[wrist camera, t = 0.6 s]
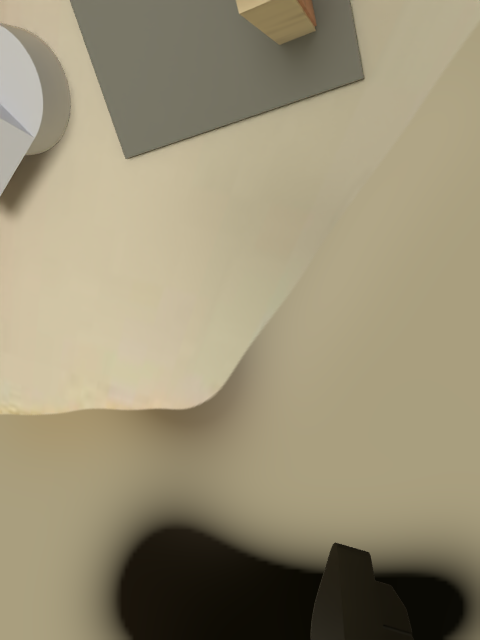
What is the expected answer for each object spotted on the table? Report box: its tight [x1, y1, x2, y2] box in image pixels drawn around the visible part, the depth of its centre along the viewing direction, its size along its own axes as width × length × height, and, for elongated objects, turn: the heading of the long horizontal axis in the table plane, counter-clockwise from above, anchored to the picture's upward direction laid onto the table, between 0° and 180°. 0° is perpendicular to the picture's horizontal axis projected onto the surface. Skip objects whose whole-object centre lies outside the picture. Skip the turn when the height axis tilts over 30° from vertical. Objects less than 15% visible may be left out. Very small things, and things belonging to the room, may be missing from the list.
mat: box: [70, 0, 364, 159], centre depth 30 cm, size 14×18×1 cm
